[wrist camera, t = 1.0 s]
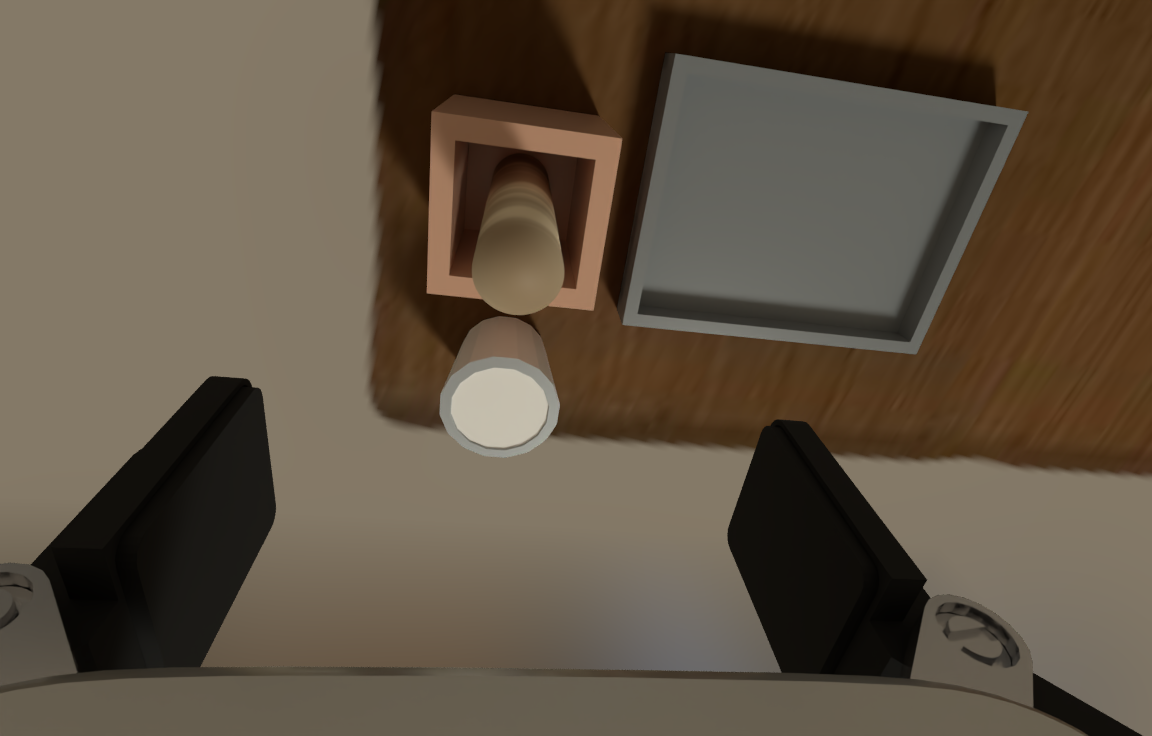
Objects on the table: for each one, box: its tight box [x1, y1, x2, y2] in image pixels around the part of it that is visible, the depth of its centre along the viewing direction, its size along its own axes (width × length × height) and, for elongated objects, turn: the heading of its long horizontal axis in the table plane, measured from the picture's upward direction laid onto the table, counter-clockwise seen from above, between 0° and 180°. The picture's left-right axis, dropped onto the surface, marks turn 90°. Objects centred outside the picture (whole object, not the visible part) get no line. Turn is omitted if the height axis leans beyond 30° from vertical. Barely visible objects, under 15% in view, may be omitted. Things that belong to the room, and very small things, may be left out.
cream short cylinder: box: [440, 316, 560, 457], centre depth 37 cm, size 7×7×7 cm
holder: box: [427, 94, 622, 310], centre depth 31 cm, size 8×8×9 cm
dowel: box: [472, 153, 564, 315], centre depth 27 cm, size 3×3×15 cm
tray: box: [617, 53, 1028, 354], centre depth 36 cm, size 20×15×2 cm
